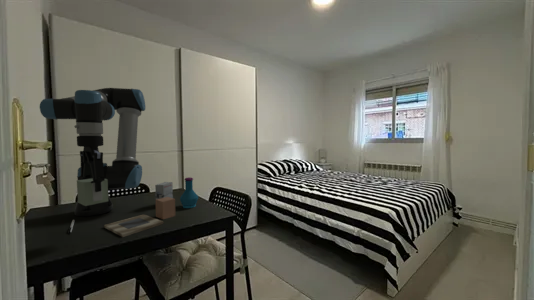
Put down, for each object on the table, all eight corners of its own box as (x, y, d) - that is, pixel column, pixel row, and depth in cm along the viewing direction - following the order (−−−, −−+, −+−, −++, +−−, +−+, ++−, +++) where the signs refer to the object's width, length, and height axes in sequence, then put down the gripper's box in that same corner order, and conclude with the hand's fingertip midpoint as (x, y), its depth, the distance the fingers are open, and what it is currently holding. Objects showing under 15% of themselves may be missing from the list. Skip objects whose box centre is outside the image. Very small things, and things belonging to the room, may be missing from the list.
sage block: (77, 202, 84) (76, 180, 83) (100, 198, 90) (99, 177, 89) (85, 206, 80) (84, 182, 79) (108, 201, 86) (107, 179, 85)
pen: (67, 235, 88) (67, 232, 88) (72, 220, 103) (72, 218, 103) (70, 235, 88) (70, 232, 88) (75, 220, 104) (75, 217, 104)
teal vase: (191, 202, 130) (190, 175, 129) (202, 205, 125) (201, 177, 124) (176, 206, 123) (175, 178, 122) (187, 210, 117) (186, 180, 117)
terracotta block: (155, 216, 108) (155, 199, 107) (167, 213, 113) (167, 196, 112) (163, 219, 104) (162, 201, 104) (175, 215, 109) (175, 198, 109)
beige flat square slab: (104, 227, 95) (103, 224, 95) (143, 216, 108) (143, 214, 108) (122, 237, 86) (122, 234, 86) (163, 223, 99) (163, 221, 99)
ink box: (165, 202, 131) (164, 181, 130) (173, 202, 130) (173, 181, 129) (155, 206, 123) (154, 184, 122) (163, 207, 122) (163, 185, 121)
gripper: (67, 134, 86) (70, 196, 87) (88, 135, 74) (91, 206, 76) (91, 134, 92) (94, 192, 94) (114, 135, 81) (117, 200, 82)
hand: (93, 198), depth 85 cm, fingers closed on sage block, 7 cm apart
